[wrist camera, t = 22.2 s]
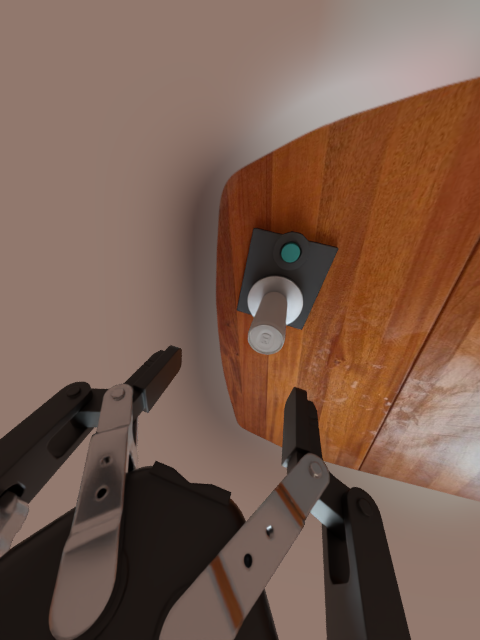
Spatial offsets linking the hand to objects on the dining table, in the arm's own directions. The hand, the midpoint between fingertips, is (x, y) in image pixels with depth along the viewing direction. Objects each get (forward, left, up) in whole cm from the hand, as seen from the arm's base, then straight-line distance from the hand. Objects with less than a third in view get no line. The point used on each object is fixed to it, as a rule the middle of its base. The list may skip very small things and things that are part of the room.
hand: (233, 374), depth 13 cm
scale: (+1, +2, -26) cm, 27 cm away
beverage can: (+4, +2, -23) cm, 23 cm away
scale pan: (+4, +2, -23) cm, 24 cm away
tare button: (-5, +2, -24) cm, 24 cm away
